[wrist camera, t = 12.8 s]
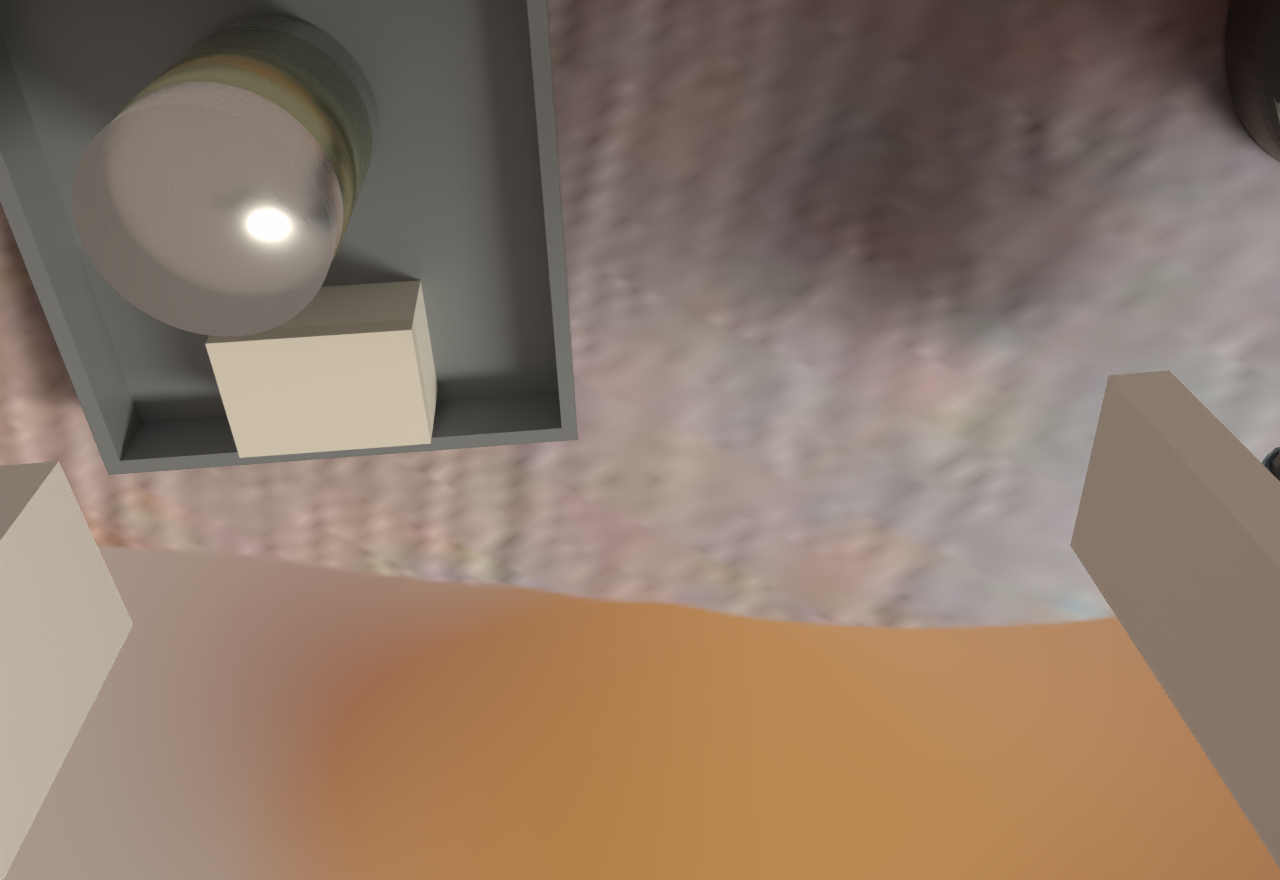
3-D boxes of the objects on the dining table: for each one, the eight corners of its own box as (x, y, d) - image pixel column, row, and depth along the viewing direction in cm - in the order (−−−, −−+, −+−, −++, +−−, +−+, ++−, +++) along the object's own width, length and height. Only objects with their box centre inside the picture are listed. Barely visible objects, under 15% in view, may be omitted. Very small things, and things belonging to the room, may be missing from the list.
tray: (540, -81, 33) (541, -64, 30) (574, 393, 43) (577, 439, 40) (-39, -57, 32) (-95, -38, 29) (136, 424, 42) (108, 474, 39)
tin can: (392, 200, 37) (353, 331, 29) (208, 207, 36) (114, 344, 28) (363, 8, 33) (308, 96, 25) (157, 14, 33) (32, 106, 24)
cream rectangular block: (420, 280, 39) (411, 330, 35) (437, 388, 41) (430, 443, 38) (232, 292, 38) (205, 343, 35) (262, 400, 41) (239, 457, 38)
